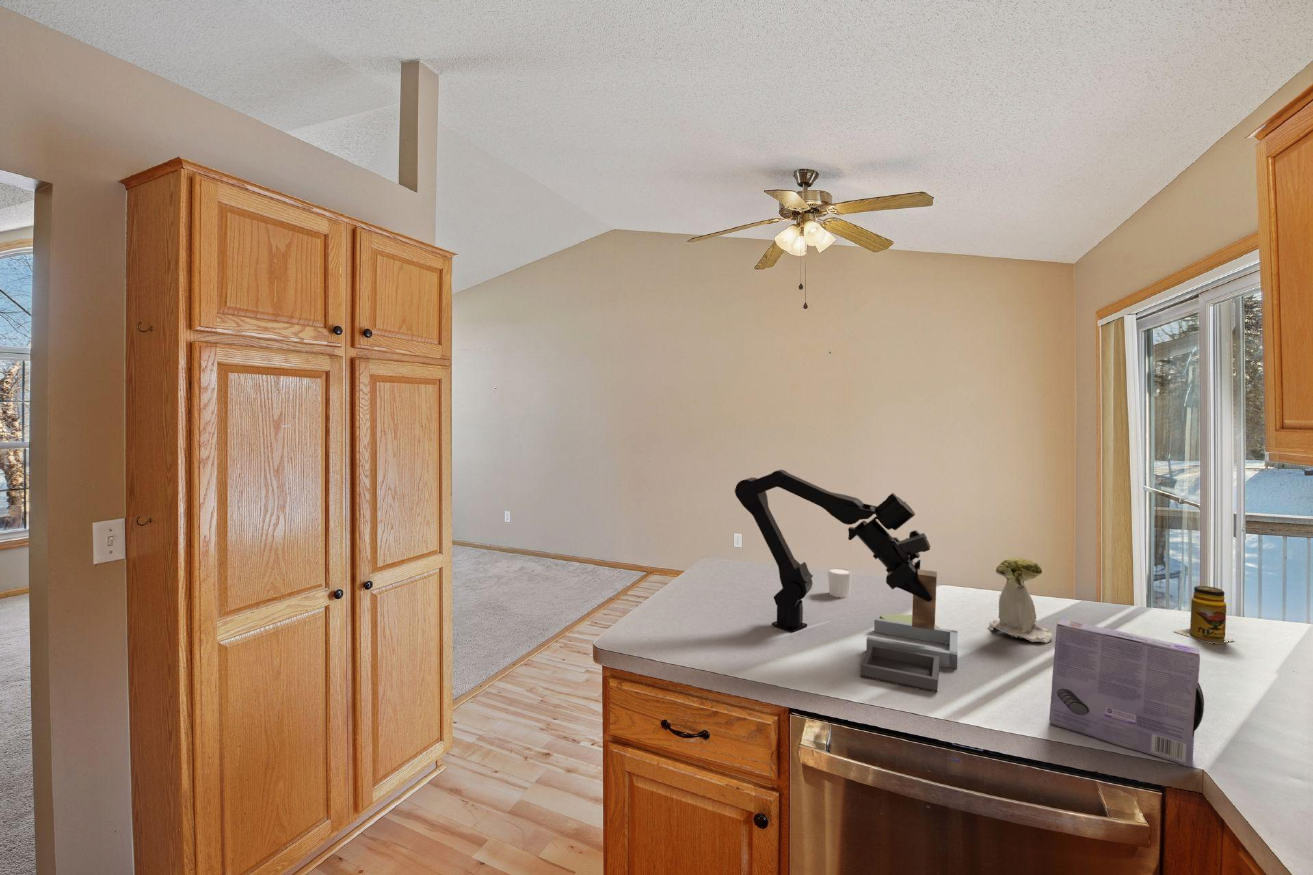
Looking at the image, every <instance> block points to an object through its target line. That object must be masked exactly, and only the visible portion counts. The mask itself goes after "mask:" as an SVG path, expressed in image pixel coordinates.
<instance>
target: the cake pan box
mask: <svg viewBox="0 0 1313 875" xmlns="http://www.w3.org/2000/svg"><path fill="white" fill-rule="evenodd" d="M1054 642H1055V643H1054V644H1055V645H1054V655H1053V666H1052V675H1051V676H1052V680H1051V682H1052V683H1051V692H1050V693H1051V694H1050V707H1049V718H1048V719H1049V722H1050V723H1049V724H1050V725H1052V726H1056V727H1061V728H1064V729H1065V730H1068V731H1069V730H1070V731H1072V732H1075V733H1079V734H1082V735H1085V736H1089V737H1092V738H1095V739H1098V740H1100V741H1103V742H1106V743H1109V744H1112V745H1115V746H1119V747H1121V748H1124V749H1129V750H1131V751H1132V750H1133V751H1138V752H1141V753H1144V754H1148V755H1150V756H1154V757H1158V758H1161V759H1164V760H1167V761H1171V762H1174V763H1176V764H1180V765H1182V766H1185V767H1188V768H1192V766H1193V762H1194V746H1195V744H1194V743H1195V732H1196V730H1197V729H1198V728H1199V727H1200V725H1201V722H1202V721H1203V717H1204V712H1205V711H1204V710H1205V699H1204V694H1203V690H1202V687H1201V685H1200V683H1199V678H1200V665H1201V664H1200V663H1201V654H1200V650H1199V648H1197V647H1194V646H1188V645H1183V644H1180V643H1173V642H1170V641H1165V640H1160V639H1155V638H1151V637H1147V636H1143V635H1138V634H1133V633H1129V632H1126V631H1122V630H1121V631H1120V630H1116V629H1112V628H1106V627H1102V626H1101V627H1100V626H1095V625H1093V624H1086V623H1082V622H1079V621H1074V620H1073V621H1072V620H1068V619H1066V618H1065V619H1064V618H1060V619H1058V622H1057V623H1056V631H1055V641H1054Z"/></svg>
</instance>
